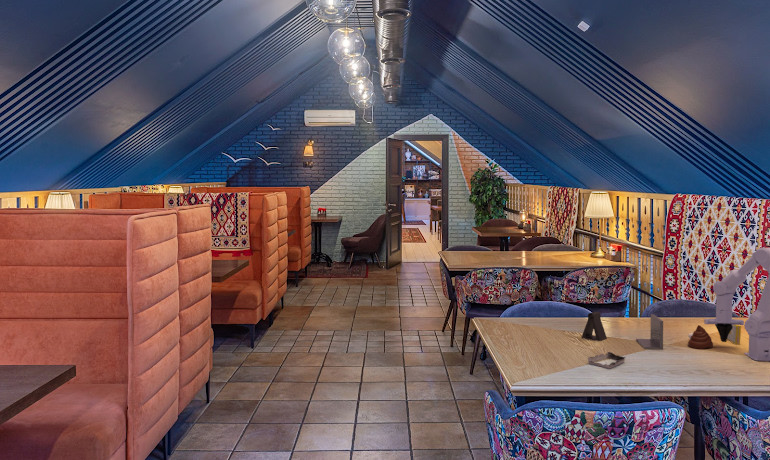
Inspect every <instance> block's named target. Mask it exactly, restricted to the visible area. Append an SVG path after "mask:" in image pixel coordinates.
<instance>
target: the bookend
mask: <svg viewBox="0 0 770 460" xmlns="http://www.w3.org/2000/svg"><path fill="white" fill-rule="evenodd" d="M635 341H636V343H638V344H639V345H640V346H641V347H642V348H643V349H644V350H664V320H662V319H661V318H660V317H658V316H657V315H655V314H654V313H651V314H650V338H636V339H635Z"/></svg>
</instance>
